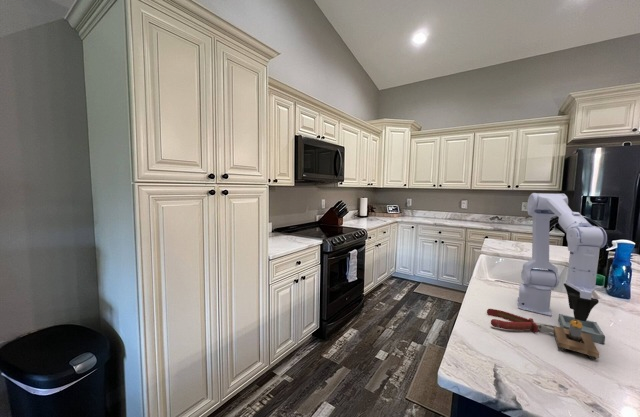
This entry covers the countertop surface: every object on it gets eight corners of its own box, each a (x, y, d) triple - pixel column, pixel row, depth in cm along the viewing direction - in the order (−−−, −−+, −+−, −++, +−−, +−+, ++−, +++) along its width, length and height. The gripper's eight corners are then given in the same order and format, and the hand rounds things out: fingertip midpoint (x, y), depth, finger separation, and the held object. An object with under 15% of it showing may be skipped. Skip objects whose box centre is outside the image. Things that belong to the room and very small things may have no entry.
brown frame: (557, 350, 73) (558, 342, 73) (552, 333, 82) (553, 325, 81) (598, 362, 68) (599, 353, 68) (588, 342, 77) (589, 334, 77)
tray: (562, 333, 81) (563, 326, 81) (558, 320, 89) (559, 313, 89) (604, 344, 76) (605, 336, 76) (595, 329, 84) (596, 322, 84)
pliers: (572, 344, 75) (573, 336, 75) (490, 327, 84) (491, 319, 84) (557, 327, 85) (558, 319, 85) (486, 313, 94) (486, 306, 94)
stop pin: (568, 346, 75) (571, 320, 74) (566, 342, 77) (569, 316, 76) (580, 350, 73) (583, 323, 72) (578, 345, 75) (581, 319, 74)
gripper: (610, 279, 65) (604, 330, 66) (595, 265, 76) (590, 309, 77) (572, 273, 69) (567, 321, 70) (563, 260, 80) (559, 302, 82)
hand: (577, 314), depth 74 cm, fingers open, 7 cm apart
